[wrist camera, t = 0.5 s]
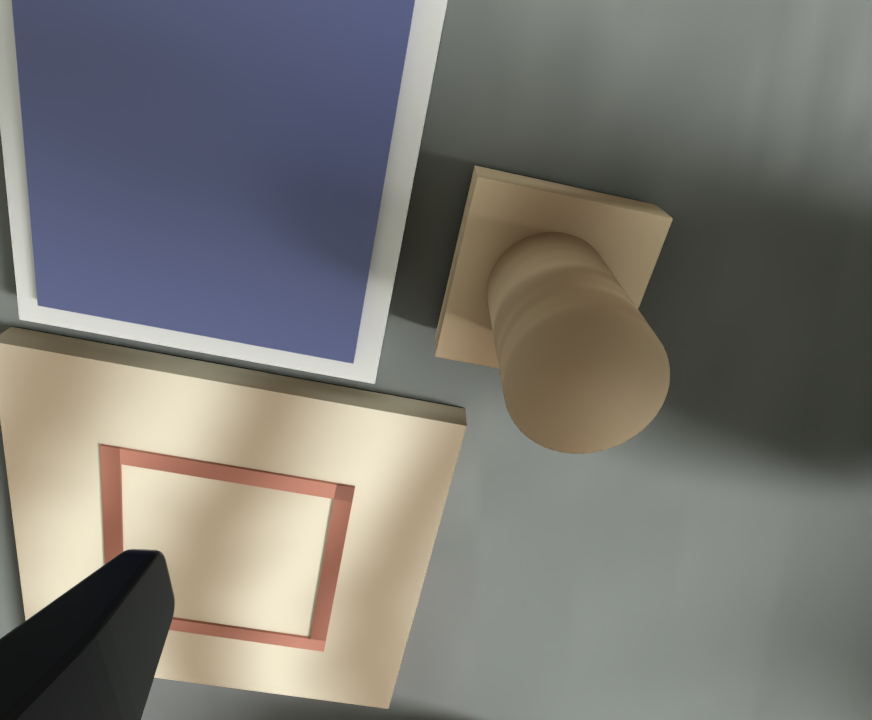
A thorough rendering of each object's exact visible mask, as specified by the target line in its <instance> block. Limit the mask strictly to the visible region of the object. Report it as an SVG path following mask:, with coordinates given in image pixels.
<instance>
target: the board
mask: <svg viewBox="0 0 872 720" xmlns="http://www.w3.org/2000/svg"><path fill="white" fill-rule="evenodd" d="M0 421H1V429H2V437H3V445H4V453H5V461H6V469H7V477H8V485H9V493H10V501H11V509H12V517H13V525H14V533H15V541H16V549H17V557H18V564H19V572H20V580H21V588H22V596H23V604H24V612H25V620H27V619H29V618H30V617H32V616H33V615H34V614H36V613H37V612H39V611H40V610H41V609H43V608H44V607H46V606H47V605H48V604H50V603H51V602H53V601H54V600H55V599H57V598H58V597H60V596H61V595H63V594H64V593H65V592H67V591H68V590H70V589H71V588H72V587H74V586H75V585H77V584H78V583H79V582H81V581H82V580H84V579H85V578H86V577H88V576H89V575H91V574H92V573H93V572H95V571H96V570H98V569H99V568H100V567H102V566H103V565H105V564H106V563H107V562H109V561H110V560H112V559H113V558H114V557H116V556H117V555H119V554H120V553H122V552H124V551H126V550H129V549H147V550H158V551H161V552H162V553H163V555H164V556H165V559H166V563H167V567H168V571H169V575H170V580H171V584H172V588H173V593H174V598H175V609H174V615H173V619H172V623H171V626H170V629H169V632H168V635H167V638H166V641H165V645H164V648H163V651H162V654H161V657H160V660H159V664H158V667H157V670H156V673H155V676H154V678H162V679H169V680H177V681H184V682H192V683H199V684H207V685H214V686H221V687H229V688H236V689H244V690H251V691H259V692H266V693H274V694H281V695H289V696H296V697H303V698H311V699H318V700H326V701H333V702H341V703H348V704H356V705H363V706H371V707H378V708H385V709H389V705H390V701H391V698H392V694H393V691H394V687H395V683H396V680H397V676H398V673H399V669H400V665H401V662H402V658H403V654H404V651H405V647H406V644H407V640H408V636H409V633H410V629H411V626H412V622H413V618H414V615H415V611H416V607H417V604H418V600H419V597H420V593H421V589H422V586H423V582H424V578H425V575H426V571H427V568H428V564H429V560H430V557H431V553H432V550H433V546H434V542H435V539H436V535H437V531H438V528H439V524H440V521H441V517H442V513H443V510H444V506H445V503H446V499H447V495H448V492H449V488H450V484H451V481H452V477H453V474H454V470H455V466H456V463H457V459H458V455H459V452H460V448H461V445H462V441H463V437H464V434H465V430H466V427H467V424H466V410H465V409H464V408H459V407H453V406H448V405H442V404H437V403H431V402H426V401H420V400H415V399H409V398H403V397H398V396H392V395H387V394H381V393H376V392H370V391H365V390H359V389H354V388H348V387H343V386H337V385H331V384H326V383H320V382H315V381H309V380H304V379H298V378H293V377H287V376H282V375H276V374H270V373H265V372H259V371H254V370H248V369H243V368H237V367H232V366H226V365H221V364H215V363H209V362H204V361H198V360H193V359H187V358H182V357H176V356H171V355H165V354H160V353H154V352H148V351H143V350H137V349H132V348H126V347H121V346H115V345H110V344H104V343H99V342H93V341H88V340H82V339H76V338H71V337H65V336H60V335H54V334H49V333H43V332H38V331H32V330H27V329H21V328H15V327H10V328H8V329H7V330H6V331H4V332H3V333H1V334H0Z"/></svg>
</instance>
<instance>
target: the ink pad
mask: <svg viewBox="0 0 872 720" xmlns="http://www.w3.org/2000/svg"><path fill="white" fill-rule="evenodd" d="M447 1H448V0H0V131H1V141H2V150H3V160H4V170H5V180H6V190H7V200H8V210H9V220H10V230H11V240H12V250H13V260H14V270H15V280H16V290H17V299H18V309H19V319H20V320H25V321H31V322H36V323H42V324H47V325H53V326H58V327H64V328H69V329H75V330H80V331H86V332H91V333H97V334H103V335H108V336H114V337H119V338H125V339H130V340H136V341H141V342H147V343H152V344H158V345H163V346H169V347H174V348H180V349H185V350H191V351H196V352H202V353H207V354H213V355H218V356H224V357H229V358H235V359H240V360H246V361H251V362H257V363H262V364H268V365H273V366H279V367H284V368H290V369H295V370H301V371H306V372H312V373H317V374H323V375H328V376H334V377H339V378H345V379H350V380H356V381H361V382H367V383H372V384H375V380H376V375H377V370H378V364H379V359H380V354H381V348H382V343H383V338H384V333H385V327H386V322H387V317H388V312H389V306H390V301H391V296H392V291H393V285H394V280H395V275H396V270H397V264H398V259H399V254H400V249H401V243H402V238H403V233H404V227H405V222H406V217H407V212H408V206H409V201H410V196H411V191H412V185H413V180H414V175H415V170H416V164H417V159H418V154H419V149H420V143H421V138H422V133H423V128H424V122H425V117H426V112H427V106H428V101H429V96H430V91H431V85H432V80H433V75H434V70H435V64H436V59H437V54H438V49H439V43H440V38H441V33H442V28H443V22H444V17H445V12H446V7H447Z"/></svg>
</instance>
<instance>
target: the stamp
mask: <svg viewBox="0 0 872 720" xmlns="http://www.w3.org/2000/svg"><path fill="white" fill-rule="evenodd" d="M672 220H673V218H672V217H670V216H669V215H668V214H667V213H665V212H664V211H663V210H662V209H661V208H659V207H658V206H657V205H655V204H650V203H645V202H641V201H636V200H632V199H627V198H622V197H618V196H613V195H609V194H604V193H599V192H595V191H590V190H586V189H581V188H576V187H572V186H567V185H563V184H558V183H553V182H549V181H544V180H540V179H535V178H530V177H526V176H521V175H517V174H512V173H507V172H503V171H498V170H494V169H489V168H484V167H480V166H474V171H473V175H472V179H471V184H470V188H469V192H468V197H467V201H466V205H465V210H464V214H463V218H462V223H461V227H460V231H459V236H458V240H457V244H456V248H455V253H454V257H453V261H452V266H451V270H450V274H449V279H448V283H447V287H446V292H445V296H444V300H443V305H442V309H441V313H440V318H439V322H438V326H437V331H436V337H435V357H441V358H446V359H451V360H457V361H462V362H467V363H472V364H478V365H483V366H488V367H494V368H499V370H500V376H501V382H502V387H503V393H504V399H505V403H506V407H507V410H508V412H509V415H510V417H511V418H512V420H513V422H514V423H515V425H516V426H517V427H518V428H519V430H520V431H521V432H522V433H523V434H525V435H526V436H527V437H528V438H529V439H531V440H532V441H534V442H535V443H537V444H539V445H541V446H543V447H546V448H548V449H551V450H555V451H559V452H564V453H572V454H584V453H593V452H598V451H603V450H606V449H609V448H613V447H615V446H617V445H620V444H622V443H624V442H626V441H627V440H629V439H631V438H633V437H634V436H635V435H637V434H638V433H640V432H641V431H642V430H643V429H644V428H645V427H646V426H647V425H648V424H649V423H650V422H651V421H652V420H653V419H654V418H655V416H656V415H657V413H658V412H659V410H660V409H661V407H662V405H663V403H664V401H665V398H666V396H667V393H668V389H669V384H670V365H669V360H668V356H667V353H666V351H665V349H664V347H663V345H662V343H661V342H660V340H659V339H658V337H657V336H656V334H655V333H654V331H653V330H652V329H651V327H650V326H649V324H648V323H647V321H646V320H645V319H644V317H643V316H642V314H641V313H640V311H639V310H638V308H639V306H640V303H641V301H642V298H643V295H644V293H645V290H646V288H647V285H648V282H649V280H650V277H651V275H652V272H653V269H654V267H655V264H656V262H657V259H658V256H659V254H660V251H661V249H662V246H663V243H664V241H665V238H666V236H667V233H668V230H669V228H670V225H671V223H672Z"/></svg>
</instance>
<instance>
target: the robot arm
mask: <svg viewBox="0 0 872 720" xmlns="http://www.w3.org/2000/svg"><path fill="white" fill-rule="evenodd" d="M174 609H175V598H174V593H173V588H172V584H171V580H170V575H169V571H168V567H167V563H166V559H165V556H164V555H163V553H162V552H161V551H158V550H147V549H129V550H126V551H124V552H122V553H120V554H119V555H117V556H116V557H114V558H113V559H112V560H110V561H109V562H107V563H106V564H105V565H103V566H102V567H100V568H99V569H98V570H96V571H95V572H93V573H92V574H91V575H89V576H88V577H86V578H85V579H84V580H82V581H81V582H79V583H78V584H77V585H75V586H74V587H72V588H71V589H70V590H68V591H67V592H65V593H64V594H63V595H61V596H60V597H58V598H57V599H55V600H54V601H53V602H51V603H50V604H48V605H47V606H46V607H44V608H43V609H41V610H40V611H39V612H37V613H36V614H34V615H33V616H32V617H30V618H29V619H27V620H26V621H25V622H23V623H22V624H20V625H19V626H18V627H16V628H15V629H13V630H12V631H11V632H9V633H8V634H6V635H5V636H4V637H2V638H1V639H0V720H141V717H142V714H143V711H144V708H145V704H146V701H147V698H148V695H149V692H150V689H151V686H152V682H153V679H154V676H155V673H156V670H157V667H158V664H159V660H160V657H161V654H162V651H163V648H164V645H165V641H166V638H167V635H168V632H169V629H170V626H171V623H172V619H173V615H174Z"/></svg>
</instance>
